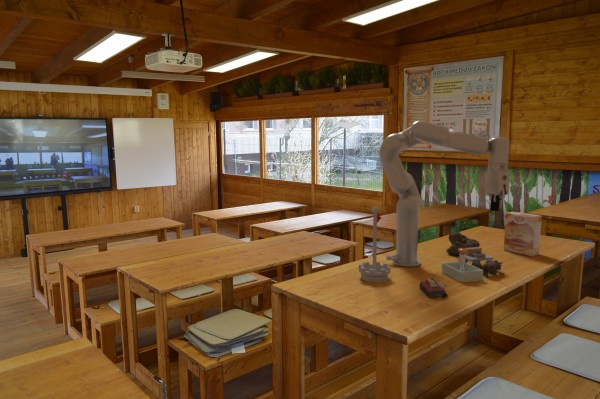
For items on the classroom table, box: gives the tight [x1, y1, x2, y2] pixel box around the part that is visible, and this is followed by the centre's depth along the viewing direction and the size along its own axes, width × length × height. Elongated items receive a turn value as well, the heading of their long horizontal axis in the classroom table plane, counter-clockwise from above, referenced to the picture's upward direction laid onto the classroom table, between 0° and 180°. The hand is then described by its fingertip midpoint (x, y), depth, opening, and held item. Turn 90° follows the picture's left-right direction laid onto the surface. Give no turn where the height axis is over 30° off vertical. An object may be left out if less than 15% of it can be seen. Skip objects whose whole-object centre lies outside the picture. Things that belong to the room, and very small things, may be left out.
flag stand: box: [358, 206, 391, 283], centre depth 193 cm, size 13×13×30 cm
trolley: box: [457, 246, 494, 270], centre depth 209 cm, size 11×14×8 cm
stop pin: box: [458, 248, 467, 272], centre depth 195 cm, size 4×4×11 cm
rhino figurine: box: [482, 259, 504, 279], centre depth 198 cm, size 4×14×6 cm, turn 127°
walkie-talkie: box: [419, 277, 448, 299], centre depth 179 cm, size 9×4×20 cm
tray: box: [441, 261, 484, 283], centre depth 196 cm, size 10×14×4 cm
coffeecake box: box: [503, 211, 543, 257], centre depth 232 cm, size 15×7×20 cm, turn 37°
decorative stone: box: [446, 231, 481, 256], centre depth 232 cm, size 16×11×15 cm
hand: (494, 210), depth 197 cm, fingers closed
